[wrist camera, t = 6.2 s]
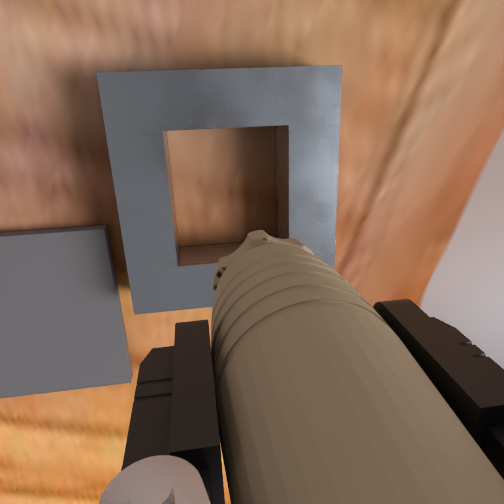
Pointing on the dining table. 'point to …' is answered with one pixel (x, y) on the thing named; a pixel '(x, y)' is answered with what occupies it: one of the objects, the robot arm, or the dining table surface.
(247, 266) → the handle
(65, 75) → the dining table surface
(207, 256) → the holder
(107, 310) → the mat
